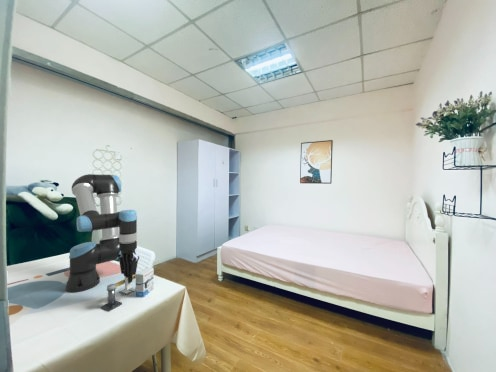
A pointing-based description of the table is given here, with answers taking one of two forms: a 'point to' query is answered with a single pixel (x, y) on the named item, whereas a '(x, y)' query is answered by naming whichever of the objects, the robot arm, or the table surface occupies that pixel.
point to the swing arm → (117, 284)
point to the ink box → (144, 281)
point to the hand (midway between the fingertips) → (128, 288)
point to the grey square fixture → (111, 302)
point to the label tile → (126, 292)
